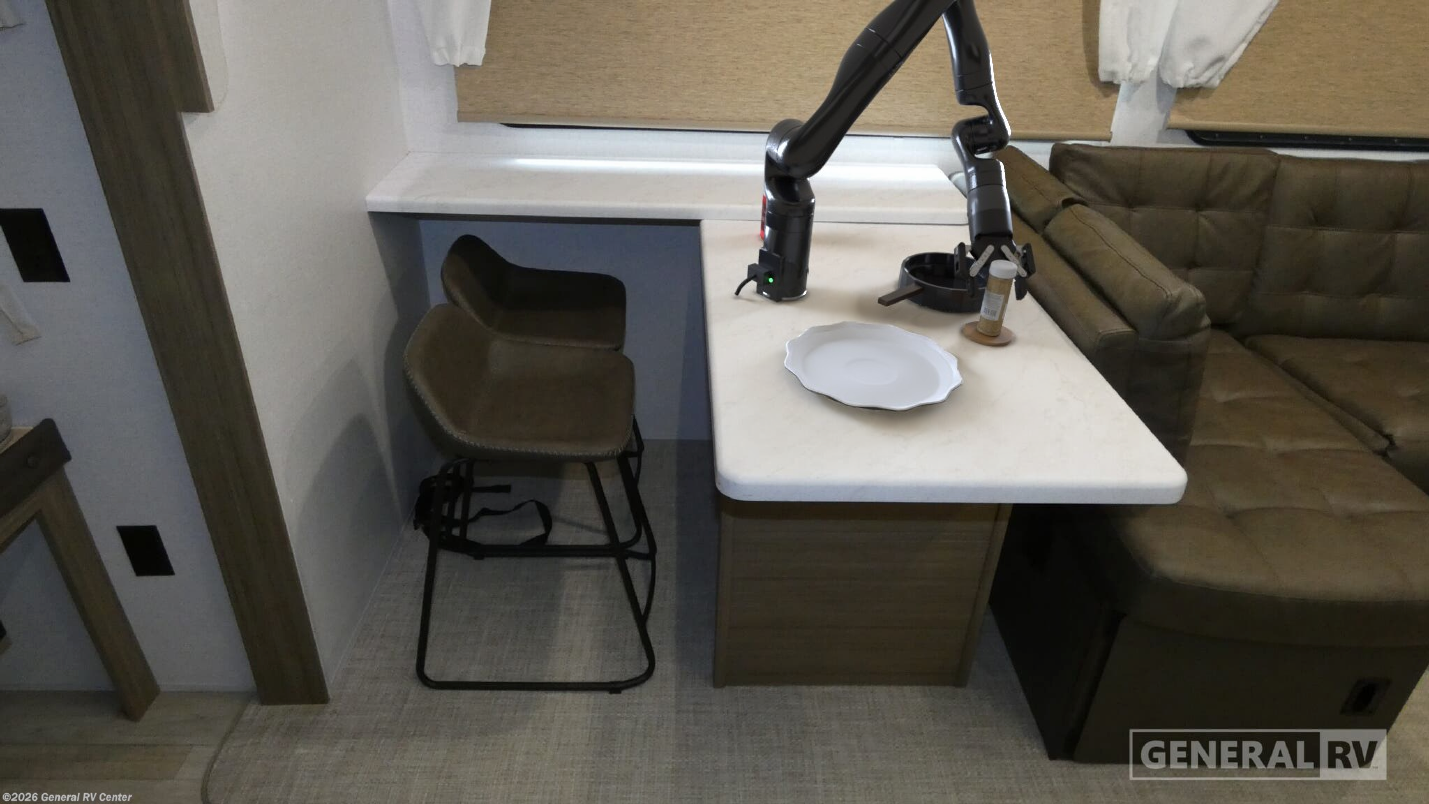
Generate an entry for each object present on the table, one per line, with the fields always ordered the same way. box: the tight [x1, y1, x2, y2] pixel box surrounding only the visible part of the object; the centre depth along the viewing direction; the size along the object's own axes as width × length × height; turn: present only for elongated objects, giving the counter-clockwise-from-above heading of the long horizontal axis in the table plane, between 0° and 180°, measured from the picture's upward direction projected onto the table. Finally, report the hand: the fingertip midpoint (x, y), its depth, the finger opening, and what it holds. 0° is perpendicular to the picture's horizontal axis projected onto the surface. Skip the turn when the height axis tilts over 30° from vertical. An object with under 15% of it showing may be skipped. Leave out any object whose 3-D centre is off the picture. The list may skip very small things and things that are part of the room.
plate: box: [783, 320, 964, 412], centre depth 140 cm, size 29×29×2 cm
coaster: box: [962, 320, 1014, 347], centre depth 155 cm, size 9×9×1 cm
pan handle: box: [876, 283, 923, 308], centre depth 159 cm, size 11×2×1 cm, turn 131°
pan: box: [897, 251, 990, 314], centre depth 169 cm, size 19×19×5 cm
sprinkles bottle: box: [977, 260, 1017, 336], centre depth 151 cm, size 5×5×14 cm
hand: (998, 299), depth 150 cm, fingers open, 8 cm apart
